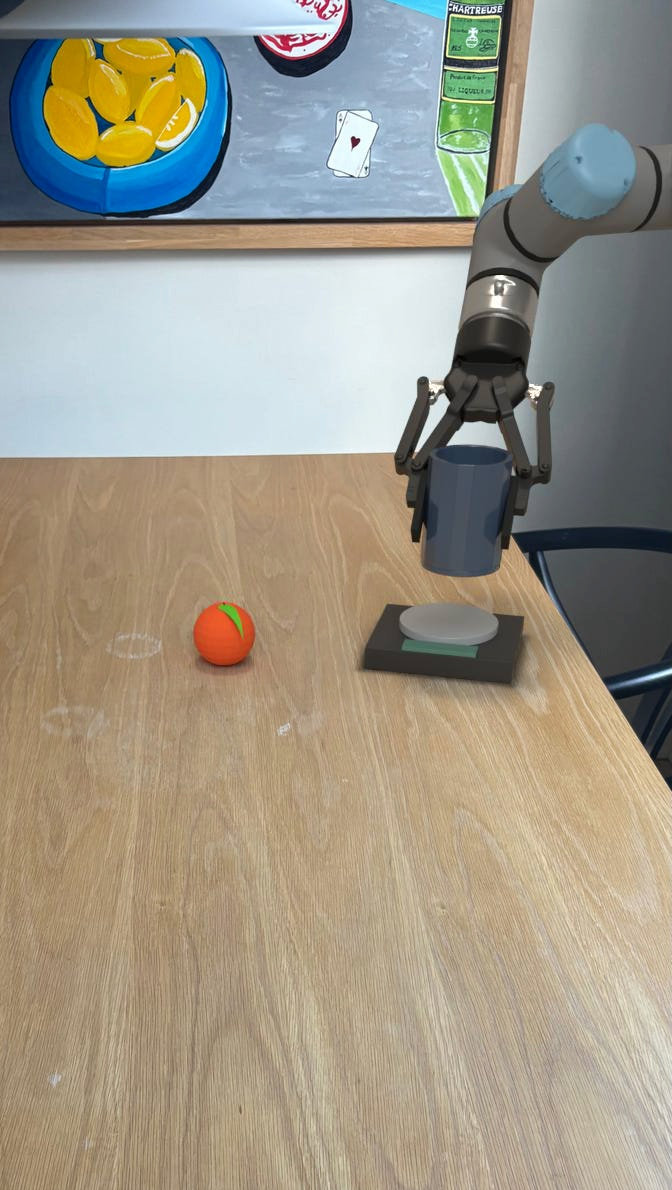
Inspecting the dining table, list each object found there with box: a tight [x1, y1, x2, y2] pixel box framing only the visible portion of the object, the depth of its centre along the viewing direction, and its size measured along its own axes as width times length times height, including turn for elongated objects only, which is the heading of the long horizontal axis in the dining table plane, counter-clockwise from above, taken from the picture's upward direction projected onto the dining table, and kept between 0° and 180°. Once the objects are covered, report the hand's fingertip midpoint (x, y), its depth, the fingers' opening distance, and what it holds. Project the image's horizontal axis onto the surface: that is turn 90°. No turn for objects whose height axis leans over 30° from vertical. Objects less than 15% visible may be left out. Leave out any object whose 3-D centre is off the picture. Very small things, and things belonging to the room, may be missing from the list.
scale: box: [363, 602, 525, 684], centre depth 139 cm, size 16×14×4 cm
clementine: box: [192, 601, 256, 666], centre depth 136 cm, size 8×7×7 cm
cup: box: [419, 443, 514, 578], centre depth 122 cm, size 8×8×11 cm
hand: (459, 539), depth 120 cm, fingers closed on cup, 8 cm apart
